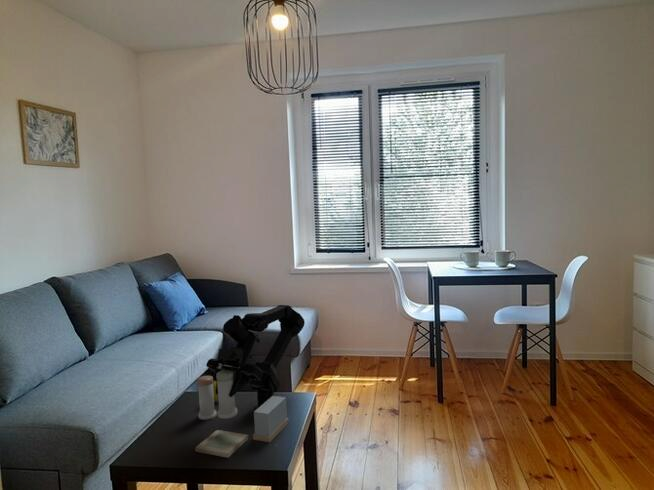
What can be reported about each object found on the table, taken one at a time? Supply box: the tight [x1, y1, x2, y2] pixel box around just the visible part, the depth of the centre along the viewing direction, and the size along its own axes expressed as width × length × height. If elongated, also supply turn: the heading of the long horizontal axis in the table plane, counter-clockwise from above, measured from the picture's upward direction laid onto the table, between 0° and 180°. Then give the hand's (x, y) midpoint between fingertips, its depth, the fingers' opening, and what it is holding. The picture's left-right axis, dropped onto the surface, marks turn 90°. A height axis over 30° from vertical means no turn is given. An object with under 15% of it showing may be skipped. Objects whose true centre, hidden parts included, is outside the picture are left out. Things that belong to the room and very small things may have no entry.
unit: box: [252, 395, 290, 443], centre depth 142 cm, size 13×6×8 cm, turn 159°
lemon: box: [213, 380, 219, 403], centre depth 165 cm, size 6×6×8 cm
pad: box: [194, 429, 249, 459], centre depth 135 cm, size 11×11×1 cm
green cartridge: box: [215, 370, 239, 419], centre depth 141 cm, size 6×6×13 cm
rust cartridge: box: [197, 375, 218, 421], centre depth 154 cm, size 6×6×13 cm
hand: (223, 395), depth 140 cm, fingers closed on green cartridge, 5 cm apart
